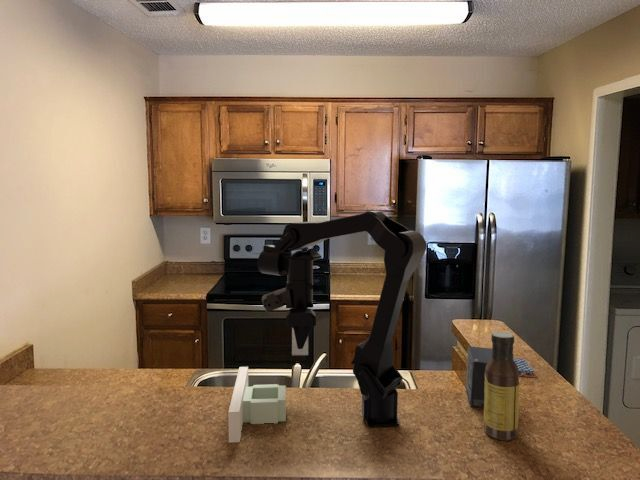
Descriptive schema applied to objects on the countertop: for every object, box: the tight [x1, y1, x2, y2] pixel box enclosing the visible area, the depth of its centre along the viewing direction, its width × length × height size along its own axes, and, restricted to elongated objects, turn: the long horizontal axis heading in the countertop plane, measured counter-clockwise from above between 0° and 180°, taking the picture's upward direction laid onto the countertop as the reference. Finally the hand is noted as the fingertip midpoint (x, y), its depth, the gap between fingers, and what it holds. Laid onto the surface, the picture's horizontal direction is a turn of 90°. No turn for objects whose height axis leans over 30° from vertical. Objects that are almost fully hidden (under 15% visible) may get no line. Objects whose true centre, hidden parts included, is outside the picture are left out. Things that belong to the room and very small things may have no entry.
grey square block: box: [291, 327, 309, 356], centre depth 106 cm, size 4×4×7 cm
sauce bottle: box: [483, 330, 520, 441], centre depth 90 cm, size 6×6×20 cm
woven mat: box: [513, 356, 537, 378], centre depth 124 cm, size 10×11×2 cm
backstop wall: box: [227, 366, 249, 444], centre depth 98 cm, size 2×22×6 cm, turn 5°
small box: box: [465, 345, 492, 409], centre depth 106 cm, size 11×6×10 cm, turn 168°
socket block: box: [243, 383, 287, 425], centre depth 98 cm, size 9×9×4 cm
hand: (300, 345), depth 107 cm, fingers closed on grey square block, 4 cm apart
